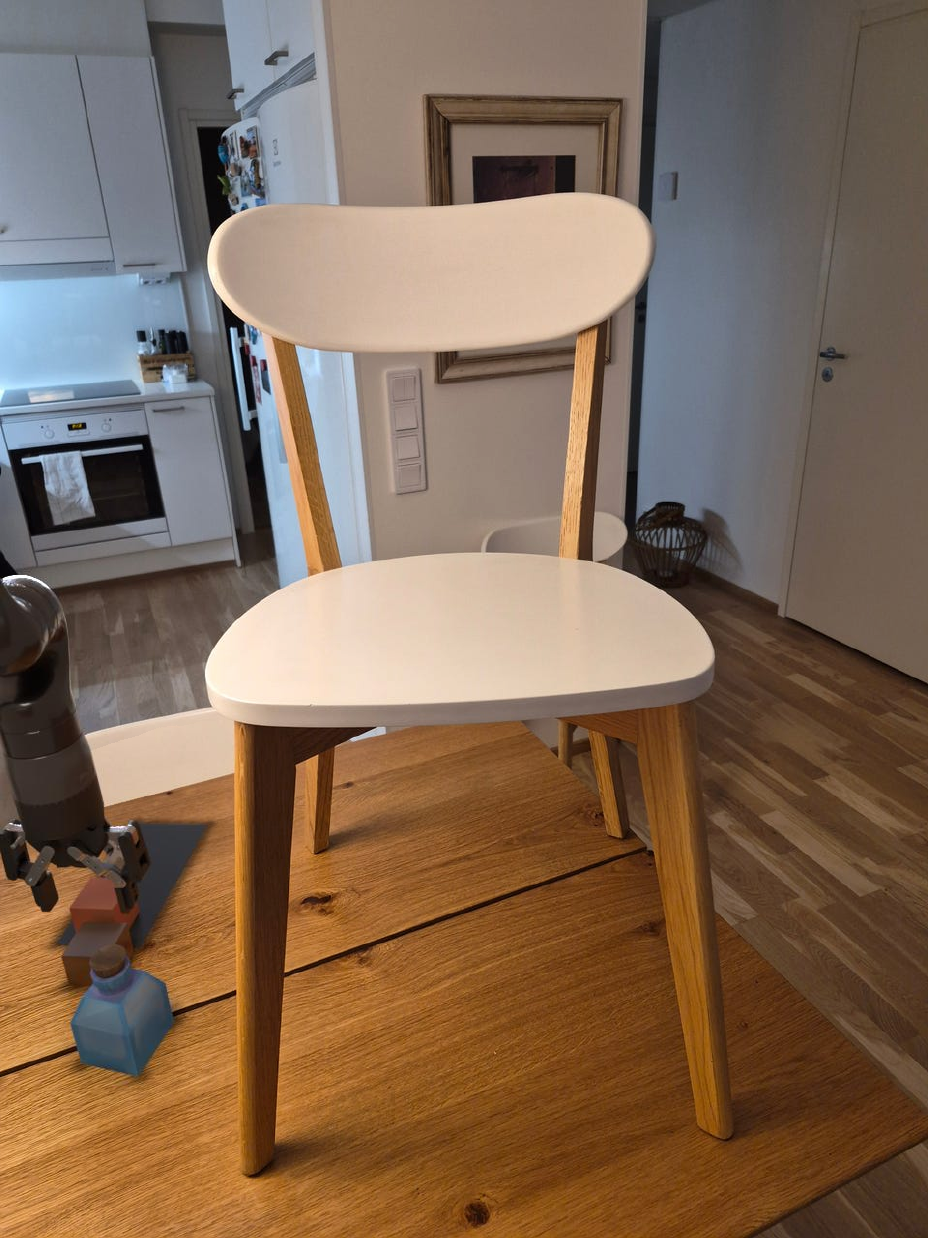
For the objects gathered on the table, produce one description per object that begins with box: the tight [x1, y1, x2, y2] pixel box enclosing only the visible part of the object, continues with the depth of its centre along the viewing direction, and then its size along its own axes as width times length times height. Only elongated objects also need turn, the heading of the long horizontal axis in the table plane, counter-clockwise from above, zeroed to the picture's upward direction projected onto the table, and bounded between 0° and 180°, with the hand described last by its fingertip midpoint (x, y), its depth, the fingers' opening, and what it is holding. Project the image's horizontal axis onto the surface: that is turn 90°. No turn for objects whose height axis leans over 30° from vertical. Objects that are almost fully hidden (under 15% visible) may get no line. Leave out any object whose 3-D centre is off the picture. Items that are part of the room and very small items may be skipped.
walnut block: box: [60, 921, 135, 988], centre depth 89 cm, size 5×5×5 cm
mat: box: [55, 822, 208, 949], centre depth 102 cm, size 10×22×6 cm, turn 176°
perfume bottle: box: [69, 945, 175, 1078], centre depth 79 cm, size 6×6×12 cm
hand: (89, 907), depth 87 cm, fingers open, 8 cm apart
